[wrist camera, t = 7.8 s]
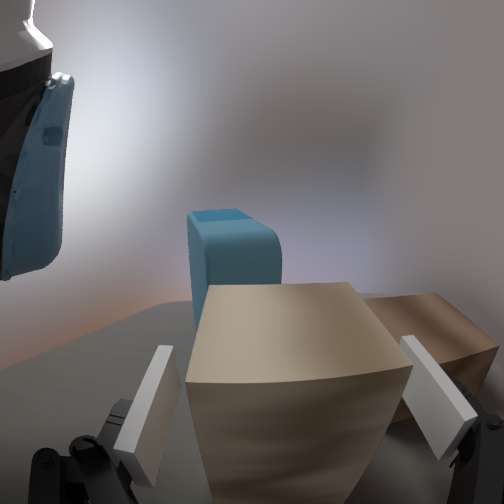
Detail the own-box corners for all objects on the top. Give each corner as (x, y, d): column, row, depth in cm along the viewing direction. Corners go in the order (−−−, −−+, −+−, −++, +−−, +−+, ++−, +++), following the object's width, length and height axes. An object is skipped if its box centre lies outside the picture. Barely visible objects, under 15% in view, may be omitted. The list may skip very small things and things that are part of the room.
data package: (276, 392, 20) (284, 234, 17) (217, 404, 19) (204, 240, 15) (236, 318, 31) (233, 206, 28) (194, 324, 30) (186, 209, 26)
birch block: (220, 522, 10) (184, 381, 6) (223, 442, 15) (209, 284, 12) (336, 513, 10) (413, 364, 7) (318, 437, 16) (348, 282, 12)
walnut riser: (374, 427, 16) (395, 373, 14) (337, 348, 25) (345, 300, 24) (475, 395, 16) (499, 345, 14) (424, 336, 25) (436, 292, 24)
